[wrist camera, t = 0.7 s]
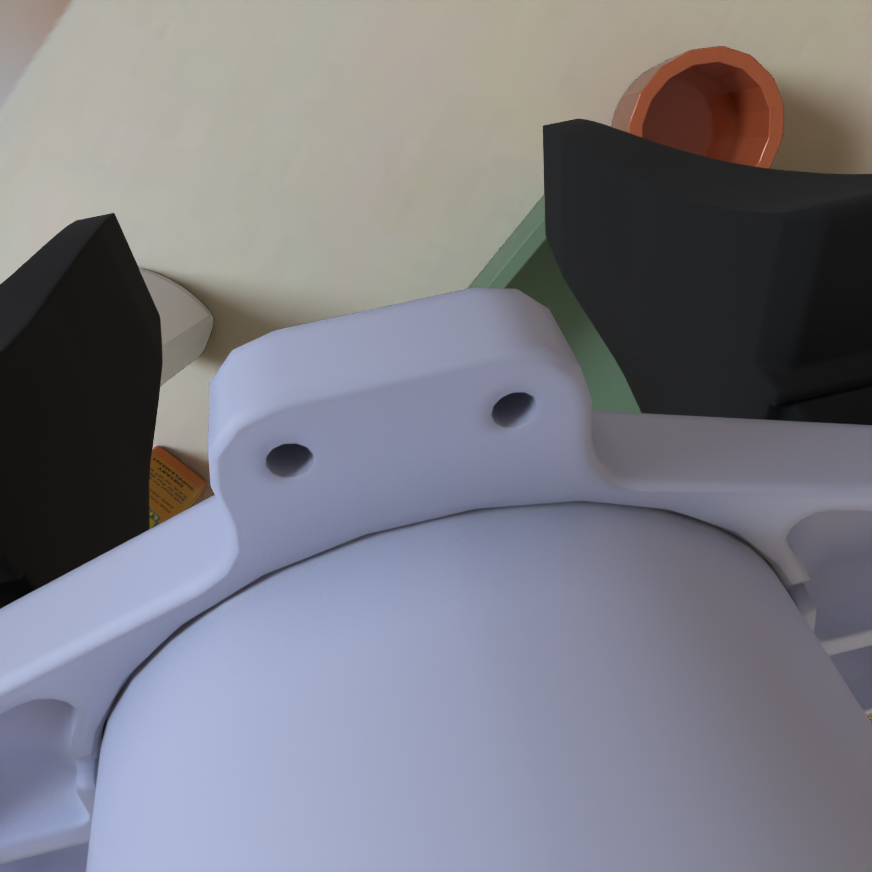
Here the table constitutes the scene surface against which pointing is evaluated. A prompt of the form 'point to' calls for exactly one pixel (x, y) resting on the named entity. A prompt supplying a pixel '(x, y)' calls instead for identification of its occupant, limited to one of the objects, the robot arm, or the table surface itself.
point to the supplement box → (171, 487)
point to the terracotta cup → (707, 106)
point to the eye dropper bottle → (178, 323)
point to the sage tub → (558, 308)
